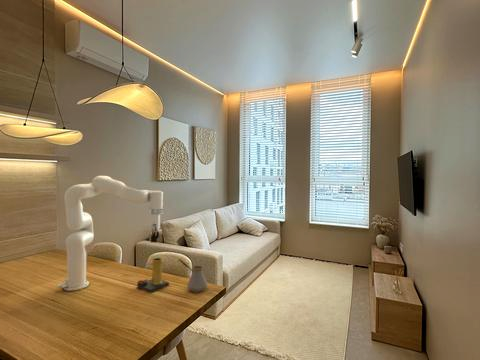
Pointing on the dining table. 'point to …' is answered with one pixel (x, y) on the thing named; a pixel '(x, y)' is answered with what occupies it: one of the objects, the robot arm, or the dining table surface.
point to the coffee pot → (196, 278)
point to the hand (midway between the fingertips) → (154, 240)
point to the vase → (157, 271)
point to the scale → (151, 285)
